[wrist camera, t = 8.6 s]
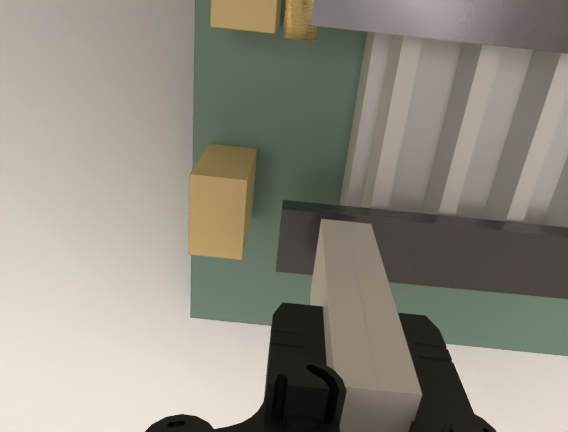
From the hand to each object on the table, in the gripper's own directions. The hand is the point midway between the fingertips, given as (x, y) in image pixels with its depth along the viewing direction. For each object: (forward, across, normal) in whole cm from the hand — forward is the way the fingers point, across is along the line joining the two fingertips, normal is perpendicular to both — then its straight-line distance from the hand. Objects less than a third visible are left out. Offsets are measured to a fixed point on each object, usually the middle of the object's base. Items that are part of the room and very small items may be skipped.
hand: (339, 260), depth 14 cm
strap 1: (+2, +5, 0) cm, 6 cm away
